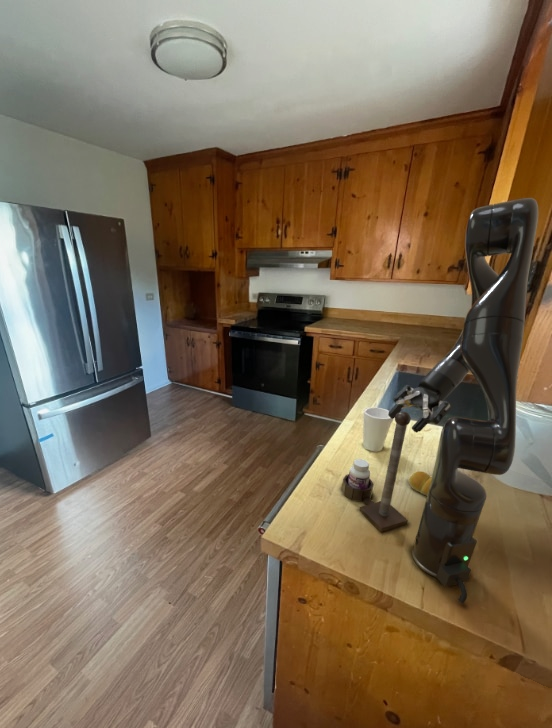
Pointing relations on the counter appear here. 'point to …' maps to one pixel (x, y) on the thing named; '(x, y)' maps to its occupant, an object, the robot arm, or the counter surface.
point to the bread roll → (420, 482)
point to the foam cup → (375, 428)
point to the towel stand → (382, 511)
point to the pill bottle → (359, 474)
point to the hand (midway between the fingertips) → (401, 423)
